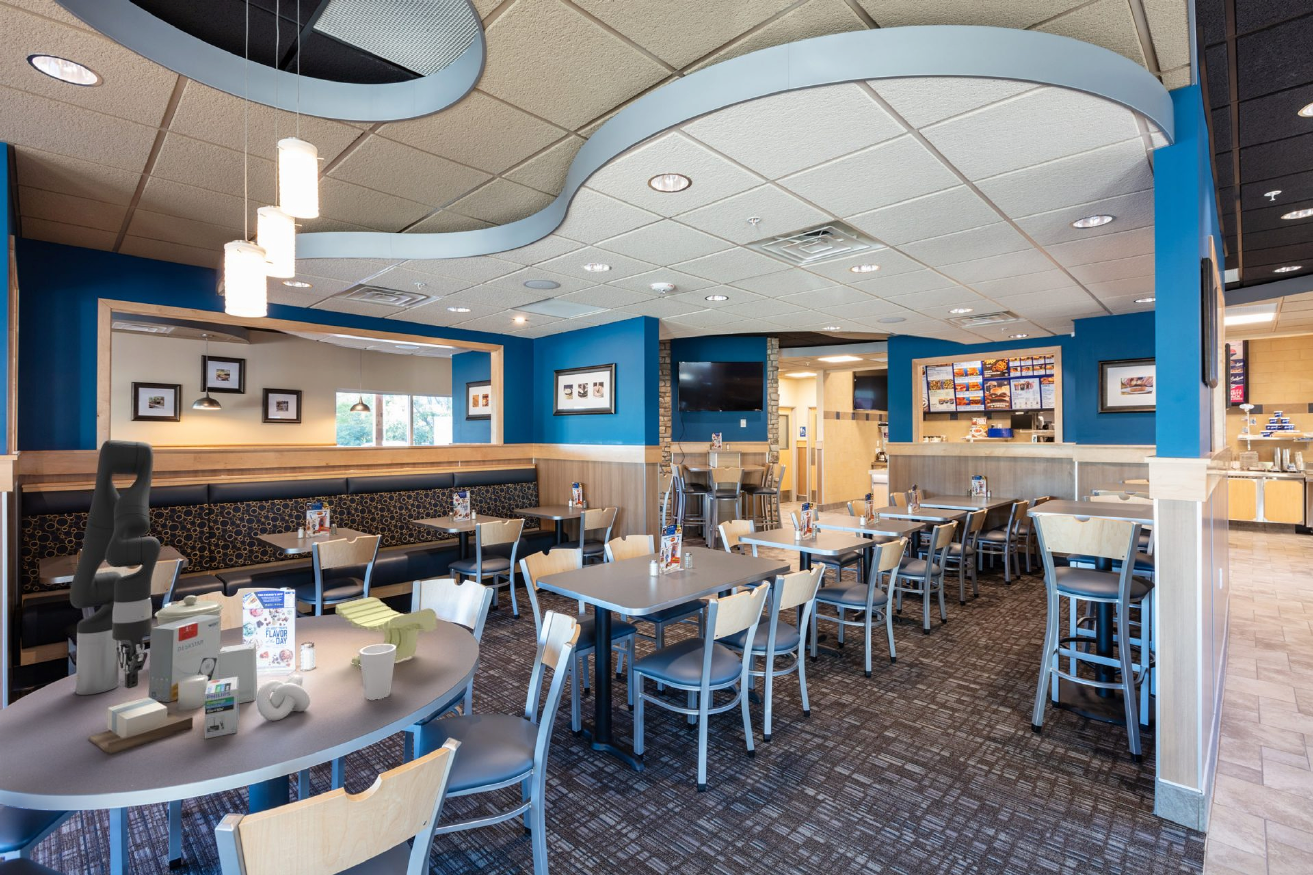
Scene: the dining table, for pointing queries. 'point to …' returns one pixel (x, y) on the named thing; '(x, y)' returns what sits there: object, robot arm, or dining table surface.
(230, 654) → the skincare box
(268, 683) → the white knot sculpture
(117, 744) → the walnut display plinth
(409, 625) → the slatted curved stool
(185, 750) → the dining table surface
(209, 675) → the hard drive box
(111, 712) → the cream carton
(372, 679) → the foam cup
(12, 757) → the dining table surface
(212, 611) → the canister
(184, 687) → the white cylinder
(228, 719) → the light bulb box
